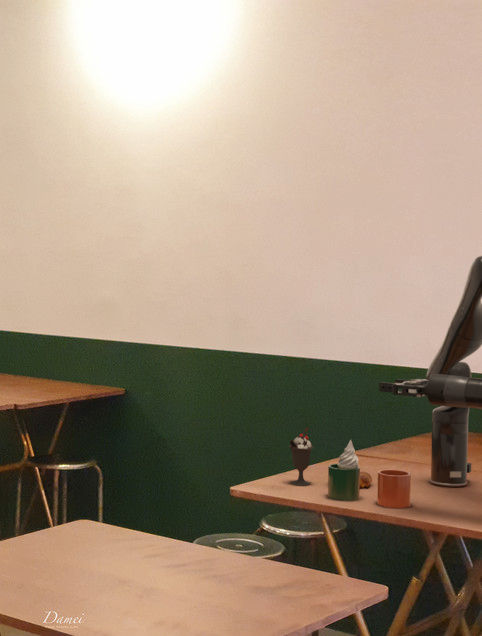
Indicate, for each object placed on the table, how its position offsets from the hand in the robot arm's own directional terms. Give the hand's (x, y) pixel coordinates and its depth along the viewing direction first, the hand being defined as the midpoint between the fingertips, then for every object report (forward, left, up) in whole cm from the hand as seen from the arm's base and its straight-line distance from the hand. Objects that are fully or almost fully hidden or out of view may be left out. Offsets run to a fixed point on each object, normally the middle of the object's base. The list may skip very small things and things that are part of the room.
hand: (387, 385), depth 271 cm
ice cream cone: (-1, -11, -30) cm, 32 cm away
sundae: (-12, -26, -30) cm, 42 cm away
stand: (-2, -11, -30) cm, 32 cm away
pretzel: (-17, -14, -30) cm, 37 cm away
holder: (-1, +2, -30) cm, 30 cm away
